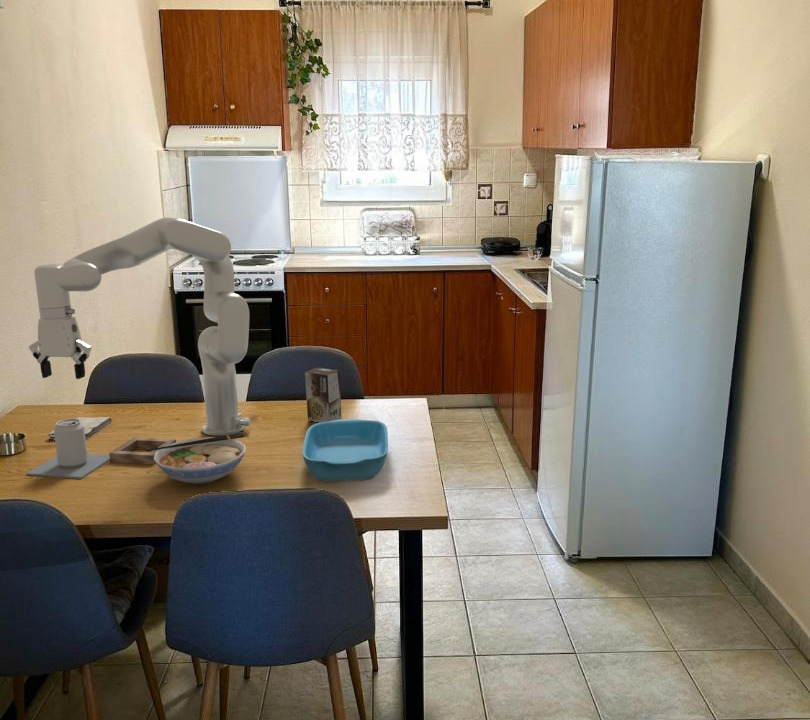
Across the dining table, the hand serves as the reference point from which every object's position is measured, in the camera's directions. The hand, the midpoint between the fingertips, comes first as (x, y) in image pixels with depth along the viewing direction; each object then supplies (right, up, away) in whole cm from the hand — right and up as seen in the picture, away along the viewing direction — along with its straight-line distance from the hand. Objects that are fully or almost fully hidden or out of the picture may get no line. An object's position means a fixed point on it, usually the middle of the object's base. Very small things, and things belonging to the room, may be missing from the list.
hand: (63, 377), depth 210 cm
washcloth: (-9, -18, +33) cm, 39 cm away
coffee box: (+64, -15, +40) cm, 77 cm away
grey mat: (0, -24, +5) cm, 24 cm away
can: (0, -24, +5) cm, 24 cm away
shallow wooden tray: (+17, -22, +12) cm, 30 cm away
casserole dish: (+74, -23, +5) cm, 78 cm away
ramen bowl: (+38, -26, -6) cm, 46 cm away
